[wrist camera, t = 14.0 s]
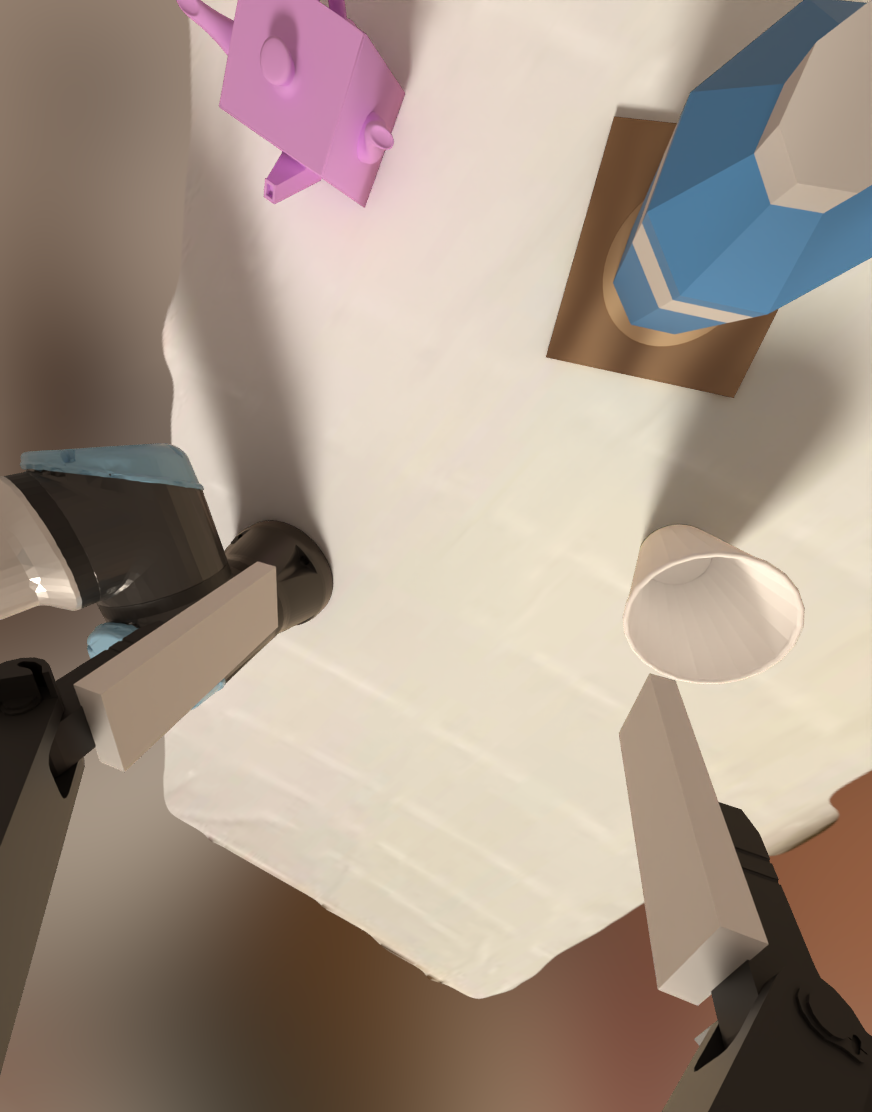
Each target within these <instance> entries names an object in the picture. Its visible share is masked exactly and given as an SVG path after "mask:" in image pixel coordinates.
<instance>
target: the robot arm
mask: <svg viewBox="0 0 872 1112" xmlns="http://www.w3.org/2000/svg"><path fill="white" fill-rule="evenodd" d="M20 466H21V468H22V469H24V470H26V472H23V473H18V474H13V475H8V476H3V477H0V620H1V619H4V618H6V617H9V616H12V615H14V614H17V613H19V612H22V611H25V610H27V609H30V608H33V607H35V606H38V605H49V606H53V607H58V608H63V609H68V610H73V611H75V610H79V609H81V608H84V607H87V606H89V605H91V604H94V603H97V605H98V607H99V609H100V611H101V613H102V615H103V616H104V618H105V621H106V623H104V624H100V625H99V626H97V627H96V628H95V630H94V631H93V632H92V633H91V634H90V635H89V637H88V640H87V644H88V648H87V650H88V653H89V656H90V658H91V659H90V660H88V661H87V662H85V663H83V664H82V665H80V666H79V667H77V668H76V669H74V670H73V671H71V672H69V673H68V674H66V675H65V676H63V677H62V678H60V679H58V680H57V681H55V679H54V676H53V674H52V671H51V668H50V666H49V664H48V663H47V662H46V661H45V660H43V659H38V658H19V659H16V660H11V661H6V662H4V663H1V664H0V1074H1V1070H2V1066H3V1062H4V1059H5V1055H6V1052H7V1048H8V1044H9V1041H10V1037H11V1033H12V1030H13V1026H14V1023H15V1019H16V1015H17V1011H18V1008H19V1004H20V1000H21V997H22V993H23V990H24V986H25V982H26V978H27V975H28V971H29V968H30V964H31V960H32V957H33V953H34V950H35V946H36V942H37V938H38V935H39V931H40V927H41V924H42V920H43V917H44V913H45V909H46V905H47V902H48V898H49V895H50V891H51V887H52V883H53V880H54V876H55V873H56V869H57V865H58V861H59V858H60V855H61V851H62V847H63V843H64V840H65V836H66V833H67V829H68V825H69V822H70V818H71V814H72V811H73V807H74V804H75V800H76V796H77V793H78V789H79V785H80V782H81V778H82V774H83V770H84V767H85V765H84V756H85V755H86V754H87V753H89V752H90V751H91V750H92V749H93V748H96V751H97V754H98V757H99V760H100V762H101V763H104V764H106V765H108V766H111V767H113V768H116V769H118V770H121V771H123V772H125V771H126V770H127V769H129V768H130V767H131V766H132V765H133V764H134V763H135V762H136V761H137V760H138V759H139V758H140V757H141V756H142V755H143V754H144V753H145V752H146V751H147V750H148V749H150V748H151V747H152V746H153V745H154V744H155V743H156V742H157V741H158V740H159V739H160V738H161V737H162V736H163V735H164V734H165V733H167V732H168V731H169V730H170V729H171V728H172V727H173V726H174V725H175V724H176V723H177V722H178V721H179V720H180V719H181V718H182V717H183V716H184V715H186V714H187V713H188V712H189V711H190V710H192V709H194V708H196V707H198V706H199V705H200V704H201V703H203V702H204V701H205V700H206V699H208V698H209V697H210V696H211V695H213V694H214V693H215V692H216V691H219V690H221V689H222V688H223V687H224V685H225V684H226V683H227V682H228V681H229V680H230V679H231V678H232V677H233V676H234V675H235V674H236V673H237V672H238V671H239V670H240V669H241V668H242V667H243V666H244V665H245V664H247V663H248V662H249V661H250V660H251V659H252V658H253V657H254V656H255V655H256V654H257V653H258V652H259V651H260V650H261V649H262V648H263V647H264V646H266V645H267V644H268V643H269V642H270V641H271V640H272V639H273V638H274V637H275V636H276V635H277V634H278V633H281V632H283V631H285V630H287V629H289V628H291V627H293V626H295V625H300V624H303V623H306V622H308V621H310V620H311V619H313V618H314V617H315V616H316V615H317V614H318V613H319V612H320V611H321V610H322V609H324V607H325V606H326V605H327V604H328V602H329V600H330V597H331V594H332V587H333V582H332V575H331V571H330V567H329V565H328V562H327V560H326V558H325V556H324V555H323V553H322V552H321V550H320V549H319V547H318V546H317V545H316V544H315V543H314V542H313V541H312V540H311V539H310V538H309V537H308V536H307V535H306V534H304V533H303V532H302V531H300V530H299V529H297V528H295V527H293V526H291V525H289V524H286V523H283V522H279V521H262V522H259V523H256V524H254V525H252V526H250V527H248V528H246V529H245V530H243V531H241V532H240V533H239V534H238V535H237V536H236V537H235V538H234V539H233V541H232V542H231V544H230V545H229V546H228V547H227V548H226V549H225V551H224V549H223V547H222V544H221V541H220V538H219V535H218V533H217V530H216V527H215V524H214V521H213V518H212V516H211V513H210V510H209V507H208V504H207V502H206V499H205V496H204V493H203V490H204V488H203V486H202V485H201V484H200V483H199V481H198V479H197V477H196V475H195V472H194V470H193V468H192V465H191V463H190V461H189V458H188V456H187V455H186V454H185V453H184V452H183V451H182V450H181V449H180V448H178V447H176V446H174V445H171V444H143V445H127V446H112V447H111V446H110V447H96V448H82V449H65V450H47V451H34V452H33V451H32V452H25V453H23V454H22V455H21V463H20ZM619 738H620V744H621V751H622V758H623V764H624V771H625V777H626V784H627V790H628V797H629V803H630V810H631V816H632V823H633V829H634V836H635V842H636V849H637V856H638V862H639V869H640V875H641V882H642V888H643V895H644V901H645V908H646V914H647V921H648V927H649V934H650V941H651V947H652V953H653V959H654V966H655V973H656V980H657V986H658V990H661V991H663V992H666V993H668V994H670V995H673V996H675V997H678V998H680V999H683V1000H685V1001H688V1002H690V1003H693V1004H695V1005H697V1006H698V1005H699V1004H700V1003H702V1002H703V1000H705V999H706V998H707V997H708V996H710V995H711V994H712V998H713V1002H714V1006H715V1011H716V1015H717V1019H718V1020H717V1021H716V1022H715V1023H714V1024H712V1025H711V1026H710V1027H709V1028H707V1029H706V1030H705V1031H703V1032H702V1033H701V1034H700V1035H699V1036H697V1037H696V1038H695V1039H694V1040H695V1041H696V1042H697V1043H698V1045H699V1048H698V1050H697V1051H696V1053H695V1055H694V1057H693V1058H692V1060H691V1062H690V1064H689V1065H688V1067H687V1069H686V1071H685V1073H684V1074H683V1076H682V1078H681V1080H680V1081H679V1083H678V1085H677V1086H676V1088H675V1090H674V1091H673V1093H672V1095H671V1097H670V1098H669V1100H668V1102H667V1104H666V1106H665V1107H664V1109H663V1111H662V1112H872V1036H871V1035H869V1034H868V1033H867V1032H866V1031H865V1029H864V1028H863V1026H862V1025H861V1023H860V1021H859V1020H858V1018H857V1017H856V1015H855V1014H854V1012H853V1010H852V1009H851V1007H850V1006H849V1005H848V1004H847V1003H846V1002H845V1001H844V999H843V998H842V997H841V996H840V995H839V994H838V993H837V992H836V990H835V989H834V988H832V987H831V986H830V985H828V984H827V983H826V982H825V981H824V980H823V979H821V978H820V976H819V974H818V972H817V970H816V968H815V966H814V963H813V961H812V959H811V956H810V954H809V951H808V949H807V947H806V944H805V942H804V939H803V937H802V935H801V932H800V930H799V927H798V925H797V922H796V920H795V918H794V915H793V913H792V910H791V908H790V906H789V903H788V901H787V898H786V896H785V894H784V892H783V889H782V887H781V885H779V884H778V877H777V875H776V872H775V870H774V867H773V865H772V864H771V863H770V861H769V860H770V858H769V855H768V853H767V851H766V848H765V846H764V843H763V841H762V839H761V836H760V834H759V832H758V831H757V830H756V828H755V827H754V826H753V824H752V823H751V822H750V820H749V819H748V818H747V816H746V815H745V814H744V812H743V811H742V810H741V809H738V808H735V807H732V806H729V805H726V804H723V803H720V802H718V800H717V797H716V794H715V791H714V788H713V785H712V783H711V780H710V777H709V774H708V771H707V768H706V766H705V763H704V760H703V757H702V754H701V752H700V749H699V746H698V743H697V740H696V737H695V735H694V732H693V729H692V726H691V723H690V720H689V718H688V715H687V712H686V709H685V706H684V703H683V701H682V698H681V695H680V692H679V689H678V686H677V684H676V681H675V680H671V679H668V678H664V677H661V676H657V675H654V674H649V676H648V677H647V679H646V681H645V683H644V685H643V687H642V689H641V691H640V693H639V695H638V697H637V699H636V701H635V703H634V705H633V707H632V709H631V711H630V713H629V714H628V716H627V718H626V720H625V722H624V724H623V726H622V728H621V730H620V732H619Z"/></svg>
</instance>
